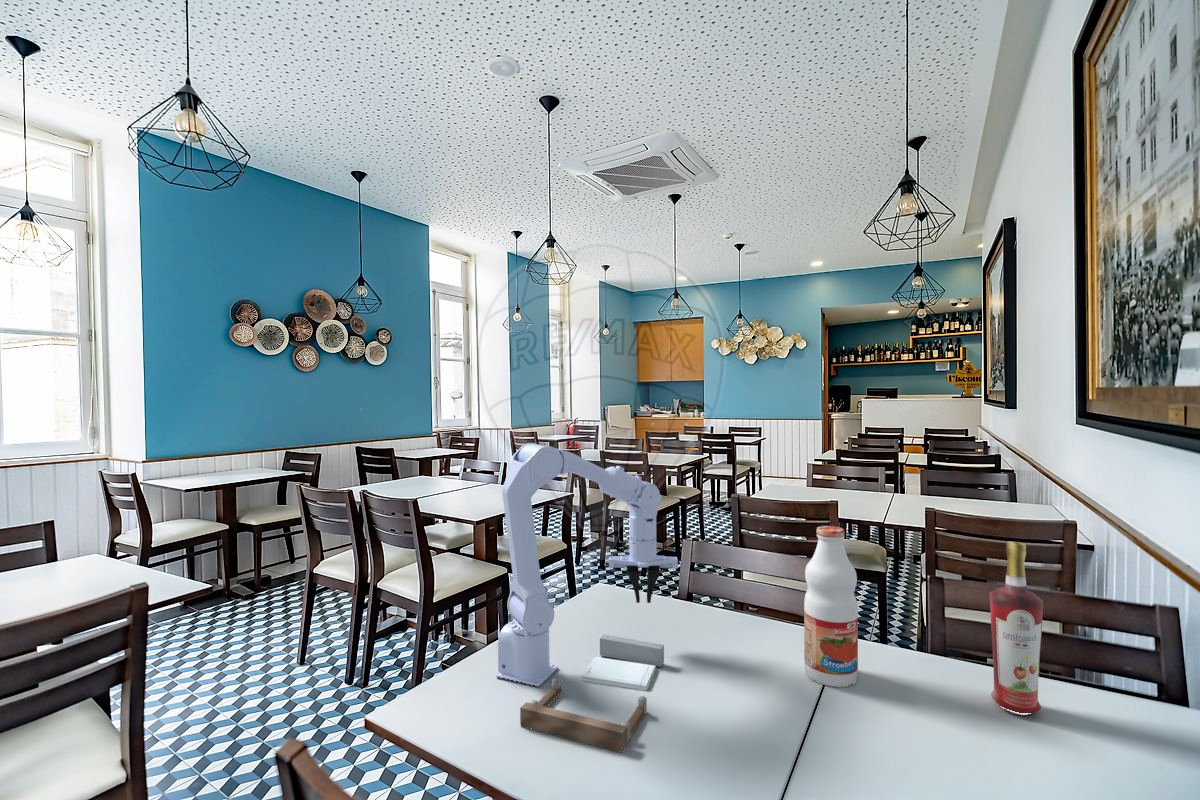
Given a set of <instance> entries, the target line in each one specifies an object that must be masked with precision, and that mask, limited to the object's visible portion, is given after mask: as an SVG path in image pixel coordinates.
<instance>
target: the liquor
mask: <svg viewBox="0 0 1200 800" xmlns="http://www.w3.org/2000/svg"><path fill="white" fill-rule="evenodd" d="M1005 548H1006V549H1005V550H1006V551H1005V553H1006V557H1007V563H1006V564H1007V565H1006V573H1005V574H1006V575H1005V584H1004V586H1000V587H996V588H994V589H993V590H992V591H989V603H990V604H989V605H990V606H989V607H990V611H989V612H990V628H991V629H990V630H991V642H992V643H991V644H992V663H993V664H992V665H993V666H992V667H993V690H992V691H991V692H990V696H991V698H992V700H994V701H995V703H996V704H997V705H998V704H999V705H1000V706H1002V707H1004V708H1006V709H1009V710H1012V711H1015V712H1019V713H1032V714H1034V712H1035V713H1036V712H1039V711H1041V709H1042V706H1041V704H1040V702H1039V676H1040V675H1039V673H1040V659H1041V658H1040V657H1041V654H1040V653H1041V644H1042V643H1041V642H1042V630H1043V629H1042V628H1043V615H1044V614H1043V612H1044V610H1043V609H1044V601H1043V600H1042V599H1041V598H1040V597H1039V596H1037V594H1036V593H1034V592H1031V591H1029V590H1028V587H1027V579H1026V578H1027V577H1026V570H1025V569H1026V568H1025V559H1026V556H1027V544H1026V543H1023V542H1019V541H1011V540H1010V541H1006V547H1005ZM999 705H998V706H999ZM1000 706H999V707H1000Z"/></svg>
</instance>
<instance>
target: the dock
mask: <svg viewBox="0 0 1200 800" xmlns="http://www.w3.org/2000/svg"><path fill="white" fill-rule="evenodd" d="M560 679H561V678H559V677H554V678H552V680H551V688H550V689H549V690H548V692H546V693H545V694H544V696H543V697H541V698H540V700H539V701H538V700H536V699H532V700H530V701H529V702H527V701H526V702H524V703H523V705H522V706H520V707H519V714H520V715H519V716H520V721H519V722H520V724H519V725H521V726H520V727H522V726H524V727H523V728H526V727H528V728H527V729H530V728H532V729H531V730H533V729H534V731H537V730H538V732H541V731H542V732H541V733H546V734H549V735H553V736H557V737H562V738H563V739H564V738H565V739H569V740H571V741H576V742H580V743H584V744H588V745H592V746H595V747H600V748H603V749H607V750H610V751H615V752H619V753H624V752H625V750H626V749H627V747H628V743H630V742H631V738H632V736H633V735H634V733H635V731H636V730H637V728H638V727H639V725H640V723H641V722H642V720H643V718H644V716H646V715H647V714H648V705H647V699H648V698H647V697H646V696H643V695H641V696H638V697H637V699H638V700H637V704H638V705H637V707H636V708H635V710H634V712H633V713H632V715H631V716H630V717H629V719H628V721H622V722H621V723H620V724H618V723H614V722H610V721H606V720H601V719H597V718H593V717H588V716H585V715H581V714H576V713H573V712H567V711H564V710H560V709H556V708H552V707H549V706H550V705H551V704H552V703H553V702H554V701H555V700H554V698H556V696H557V697H559V695H560V694H561V693H562V685H561V680H560ZM560 692H561V693H560ZM558 694H559V695H558ZM556 699H557V698H556ZM553 700H554V701H553ZM552 701H553V702H552ZM551 702H552V703H551ZM550 703H551V704H550ZM549 704H550V705H549ZM548 705H549V706H548ZM547 706H548V707H547Z"/></svg>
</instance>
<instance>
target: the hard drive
mask: <svg viewBox="0 0 1200 800" xmlns="http://www.w3.org/2000/svg"><path fill="white" fill-rule="evenodd" d="M656 670H657V666H654V665H648V664H643V663H638V662H632V661H627V660H621V659H613V658H608V657H607V658H606V657H598V656H595V657H593V658H592V660H591V662H590V663H589V665H588V666H587V668H586V670H584V672H583V673H582V676H581V681H582V682H585V681H588V682H587V683H592V682H595V683H594V684H600V685H605V686H606V685H607V686H613V687H619V688H624V689H625V688H626V689H633V690H639V691H648V688H649V686H650V683H652V679H653V677H654V674H655V672H656Z"/></svg>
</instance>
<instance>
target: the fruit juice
mask: <svg viewBox="0 0 1200 800" xmlns="http://www.w3.org/2000/svg"><path fill="white" fill-rule="evenodd" d="M815 533H816V537H817V544H816V548H815V551H814V552H813V555H812V557H811V559H810V560H809V561H808V563H807V564H806V566H805V569H804V570H805V571H804V578H805V579H804V580H805V582H806V586H807V589H806V592H805V595H804V603H803V610H804V611H803V612H804V613H803V615H804V617H803V619H804V620H803V621H804V623H803V626H804V628H803V629H804V632H803V633H804V635H803V637H804V638H803V641H804V643H803V644H804V650H803V653H804V654H803V656H804V657H803V658H804V671H805V674H806V676H807V677H808V678H810V679H811V680H812V681H814V682H816V683H818V684H820V685H824V686H828V687H832V686H834V688H840V687H839V686H847V685H851V684H853V683H854V682H855V681H856V680H858V676H859V663H858V661H859V653H858V652H859V647H858V646H859V642H858V641H859V639H858V638H859V630H858V628H859V608H858V601H857V598H856V596H855V590H856V586H857V582H858V576H857V575H858V574H857V571H856V569H855V567H854V566H853V564H852V563H851V561H850V559H849V557H848V555H847V552H846V549H845V545H844V539H845V529H844V528H842V527H838V526H835V525H834V526H833V525H821V526H818V527H816V532H815ZM856 682H857V681H856ZM856 682H855V683H856ZM855 683H854V684H855ZM854 684H853V685H854ZM836 686H838V687H836ZM851 686H852V685H851ZM847 687H848V686H847Z"/></svg>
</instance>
